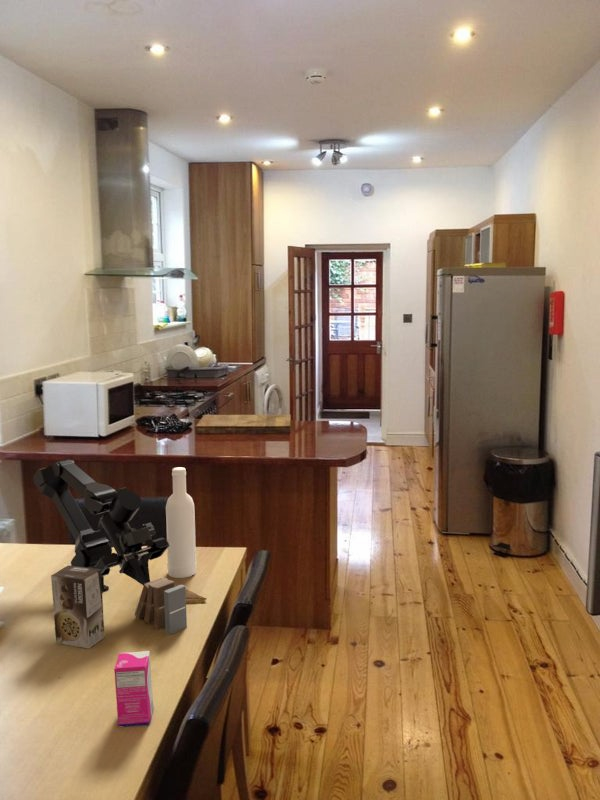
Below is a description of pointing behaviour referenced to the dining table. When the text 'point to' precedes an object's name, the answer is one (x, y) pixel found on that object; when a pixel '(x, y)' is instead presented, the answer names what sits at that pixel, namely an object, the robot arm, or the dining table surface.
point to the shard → (193, 597)
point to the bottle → (180, 528)
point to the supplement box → (133, 688)
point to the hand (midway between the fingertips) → (148, 586)
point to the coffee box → (78, 606)
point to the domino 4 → (175, 609)
